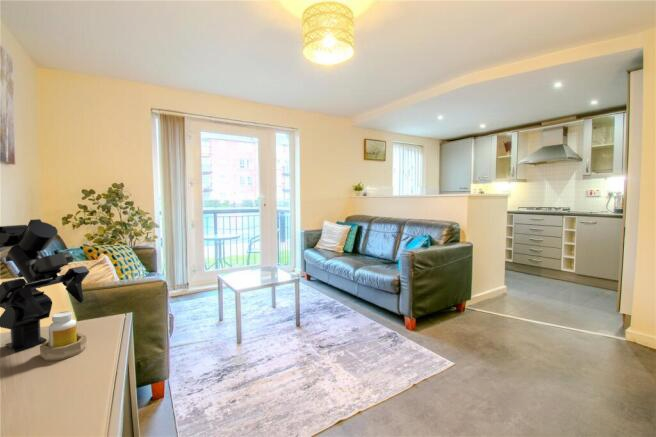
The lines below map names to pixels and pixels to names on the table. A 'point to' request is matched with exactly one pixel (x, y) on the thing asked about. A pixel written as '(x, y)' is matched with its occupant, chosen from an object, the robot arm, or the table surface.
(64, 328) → the supplement bottle
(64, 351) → the can holder
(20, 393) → the table surface
